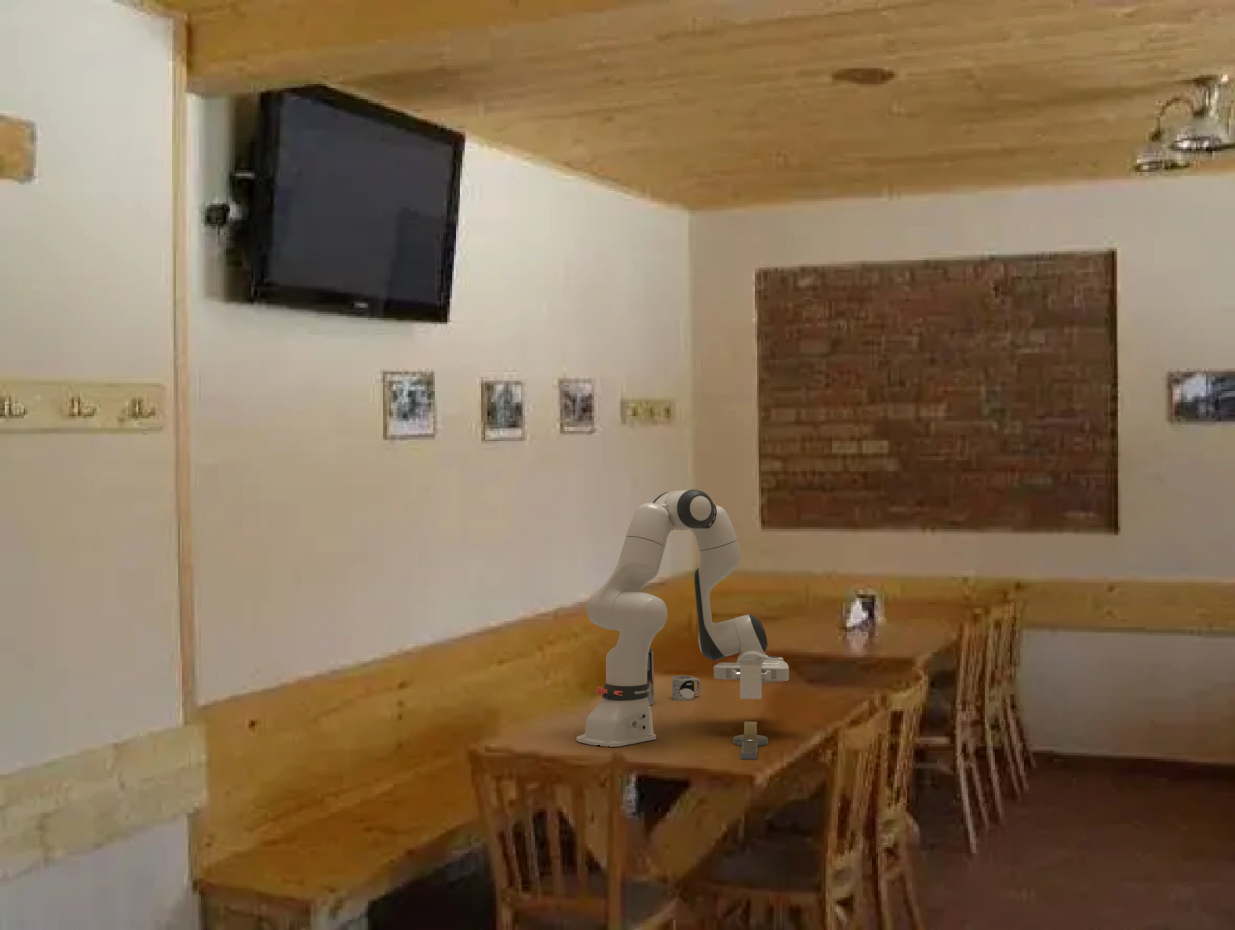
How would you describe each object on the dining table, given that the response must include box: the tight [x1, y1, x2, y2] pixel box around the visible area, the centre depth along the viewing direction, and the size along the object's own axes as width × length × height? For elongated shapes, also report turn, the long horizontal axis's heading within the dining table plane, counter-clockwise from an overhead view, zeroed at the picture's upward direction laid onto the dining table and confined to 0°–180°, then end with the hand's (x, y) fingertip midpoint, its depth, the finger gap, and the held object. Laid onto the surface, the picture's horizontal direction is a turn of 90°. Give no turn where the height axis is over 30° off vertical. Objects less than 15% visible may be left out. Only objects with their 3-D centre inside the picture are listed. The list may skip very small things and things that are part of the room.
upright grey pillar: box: [739, 657, 763, 700], centre depth 404 cm, size 6×6×10 cm
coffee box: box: [647, 648, 655, 706], centre depth 456 cm, size 9×6×16 cm
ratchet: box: [732, 721, 769, 760], centre depth 392 cm, size 24×9×6 cm, turn 173°
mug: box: [671, 674, 702, 702], centre depth 465 cm, size 10×7×7 cm, turn 126°
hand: (750, 676), depth 403 cm, fingers closed on upright grey pillar, 6 cm apart
